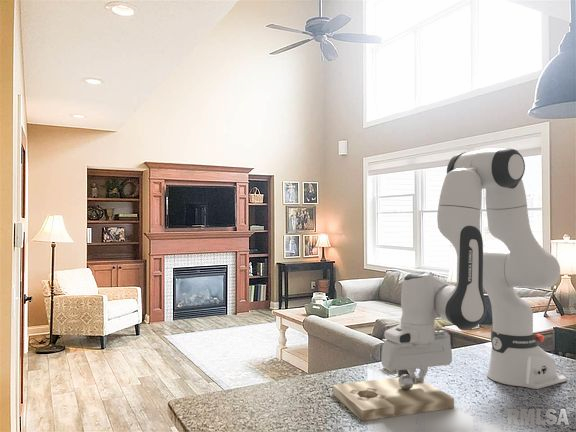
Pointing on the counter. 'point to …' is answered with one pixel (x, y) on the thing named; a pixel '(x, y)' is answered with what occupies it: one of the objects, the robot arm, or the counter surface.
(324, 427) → the counter surface
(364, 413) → the beige flat wooden board
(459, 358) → the counter surface
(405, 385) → the ball
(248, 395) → the counter surface
